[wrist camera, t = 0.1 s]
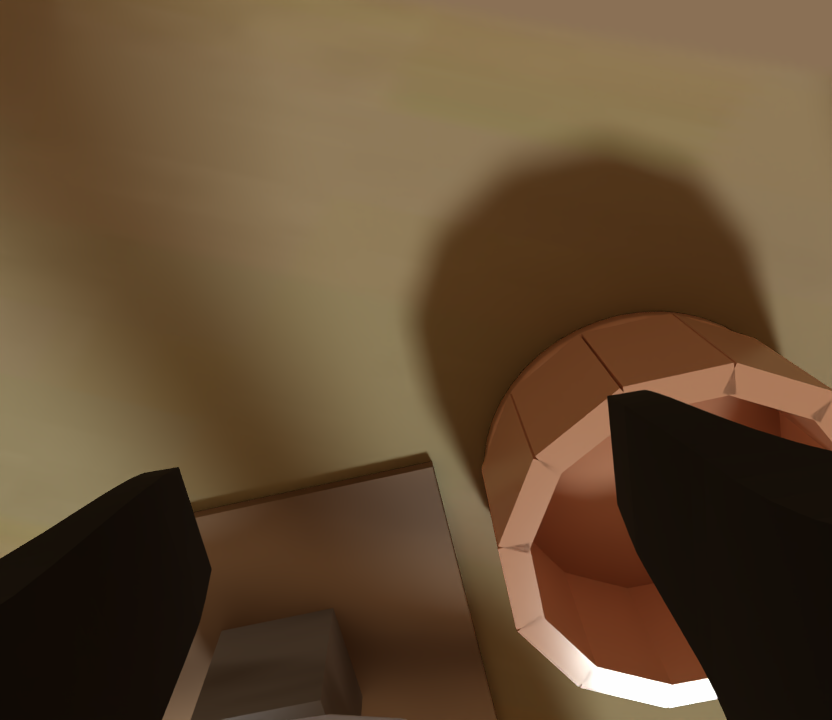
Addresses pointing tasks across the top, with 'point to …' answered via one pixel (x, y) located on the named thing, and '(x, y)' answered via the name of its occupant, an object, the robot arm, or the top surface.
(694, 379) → the pot
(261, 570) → the lid
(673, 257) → the top surface
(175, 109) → the top surface
